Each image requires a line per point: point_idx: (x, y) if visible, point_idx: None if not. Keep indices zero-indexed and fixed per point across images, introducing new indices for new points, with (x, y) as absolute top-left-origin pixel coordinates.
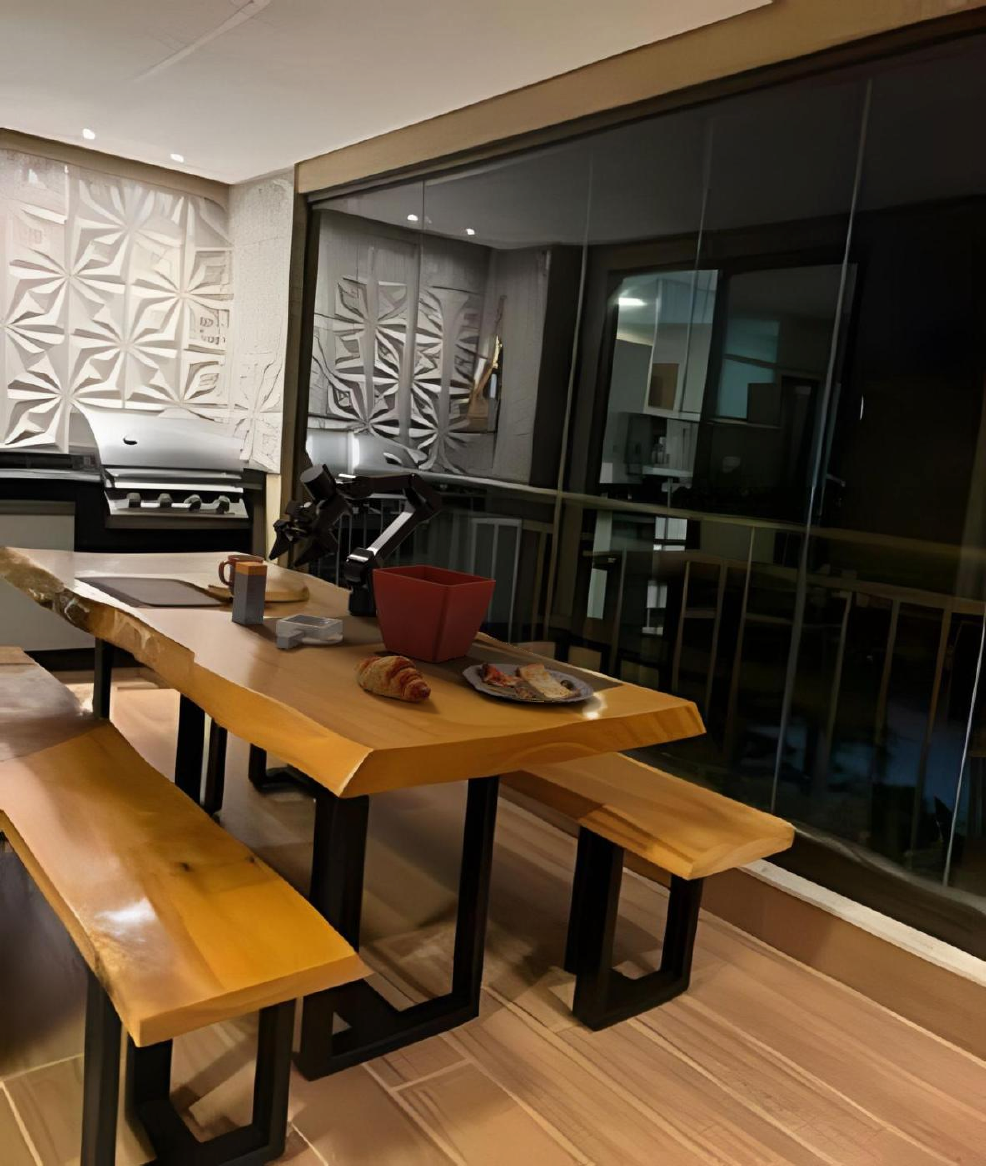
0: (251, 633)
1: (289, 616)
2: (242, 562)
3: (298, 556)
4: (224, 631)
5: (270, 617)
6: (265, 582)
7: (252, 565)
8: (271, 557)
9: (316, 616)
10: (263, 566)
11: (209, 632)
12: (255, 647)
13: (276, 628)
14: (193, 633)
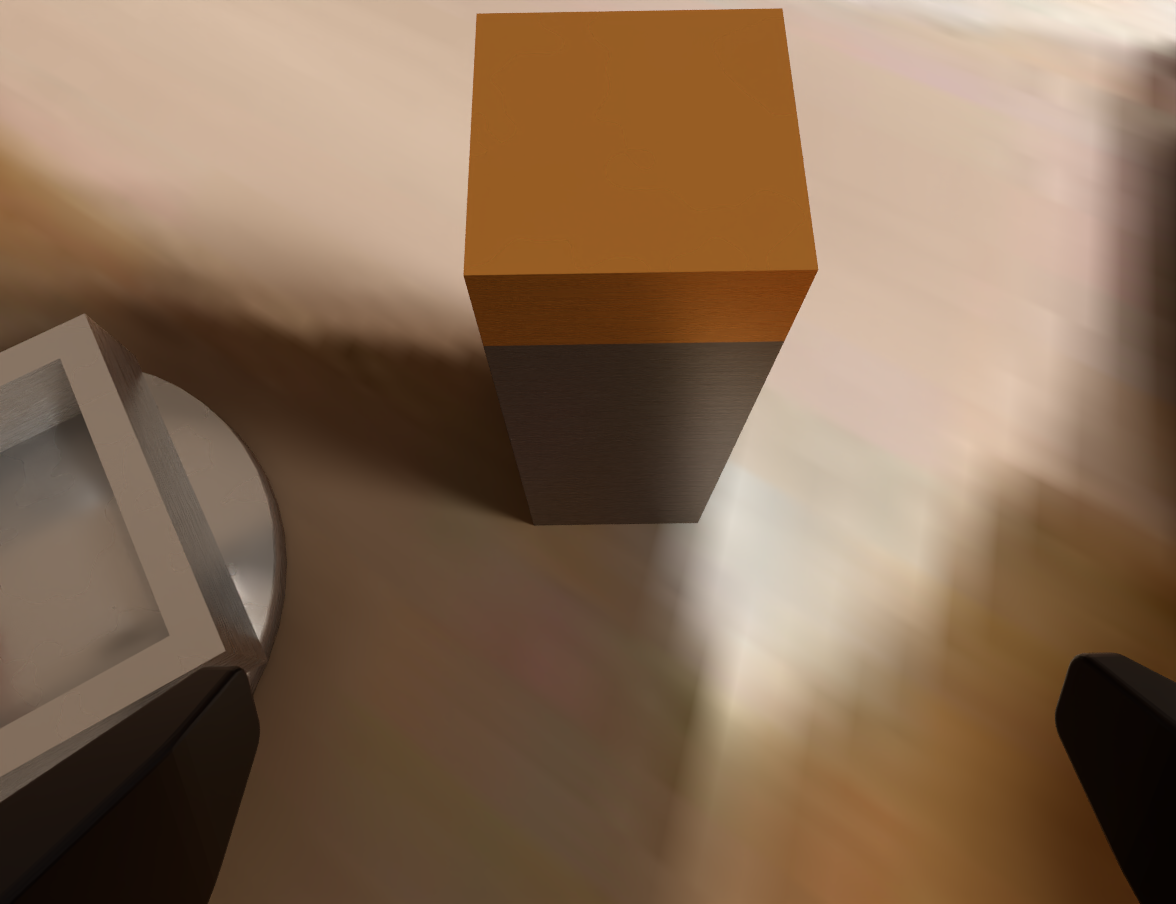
0: (314, 298)
1: (157, 498)
2: (753, 69)
3: (93, 799)
4: (425, 189)
5: (726, 726)
6: (498, 384)
7: (496, 70)
8: (1087, 707)
9: (33, 748)
10: (467, 220)
11: (435, 112)
12: (33, 150)
13: (115, 342)
14: (445, 39)
